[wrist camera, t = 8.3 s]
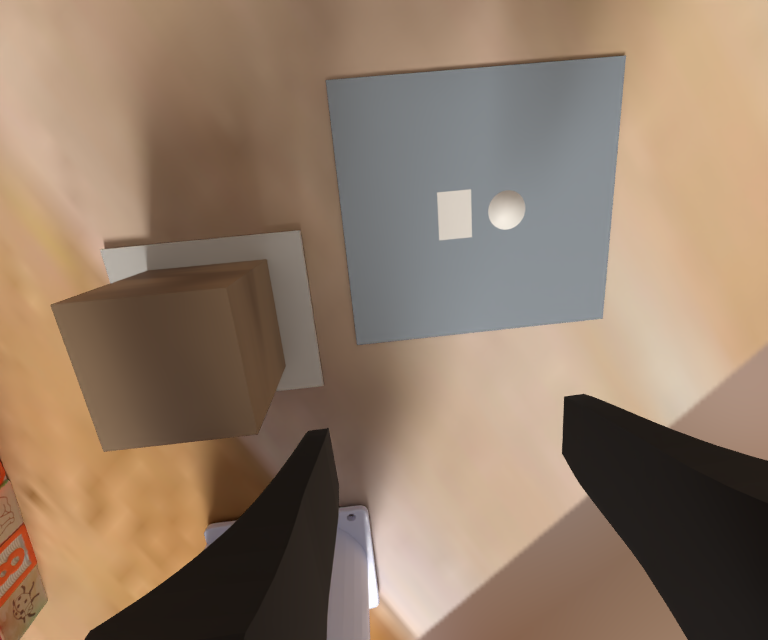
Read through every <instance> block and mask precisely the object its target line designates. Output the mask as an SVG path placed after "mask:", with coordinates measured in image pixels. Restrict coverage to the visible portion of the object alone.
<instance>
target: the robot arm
mask: <svg viewBox="0 0 768 640" xmlns="http://www.w3.org/2000/svg"><path fill="white" fill-rule="evenodd" d="M562 454H563V456H564V458H565V459H566V461H567V463H568V465H569V467H570V468H571V470H572V472H573V474H574V475H575V477H576V479H577V480H578V482H579V483H580V485H581V486H582V488H583V489H584V490H585V492H586V493H587V494H588V496H589V497H590V498H591V499H592V501H593V502H594V503H595V505H596V506H597V507H598V509H599V510H600V511H601V513H602V514H603V515H604V516H605V518H606V519H607V520H608V522H609V523H610V524H611V525H612V527H613V528H614V529H615V531H616V532H617V533H618V535H619V536H620V537H621V538H622V540H623V541H624V542H625V544H626V545H627V546H628V547H629V549H630V550H631V551H632V553H633V554H634V556H635V557H636V558H637V560H638V561H639V563H640V564H641V565H642V567H643V568H644V570H645V571H646V573H647V574H648V576H649V577H650V579H651V581H652V582H653V584H654V585H655V587H656V589H657V590H658V592H659V593H660V595H661V596H662V598H663V600H664V601H665V603H666V604H667V606H668V607H669V609H670V611H671V612H672V614H673V616H674V617H675V619H676V621H677V622H678V624H679V626H680V627H681V629H682V631H683V632H684V634H685V636H686V637H687V639H688V640H768V461H767V460H763V459H759V458H756V457H752V456H749V455H745V454H742V453H739V452H736V451H733V450H729V449H726V448H723V447H720V446H716V445H713V444H711V443H708V442H705V441H702V440H699V439H697V438H694V437H691V436H688V435H686V434H683V433H680V432H678V431H675V430H672V429H670V428H667V427H665V426H662V425H660V424H657V423H655V422H652V421H650V420H648V419H645V418H643V417H640V416H638V415H636V414H633V413H631V412H628V411H626V410H624V409H621V408H619V407H617V406H614V405H612V404H610V403H607V402H605V401H602V400H600V399H597V398H594V397H592V396H589V395H585V394H580V395H573V396H565V397H564V416H563V443H562ZM350 514H354V515H353V516H349V515H350ZM204 536H205V539H206V542H207V545H206V547H205V549H204V550H203V551H202V552H201V553H200V554H199V555H198V556H197V557H195V558H194V559H193V560H192V561H190V562H189V563H188V564H187V565H185V566H184V567H183V568H182V569H180V570H179V571H178V572H176V573H175V574H174V575H172V576H171V577H170V578H168V579H167V580H166V581H164V582H163V583H162V584H160V585H159V586H157V587H156V588H155V589H153V590H152V591H150V592H149V593H148V594H146V595H145V596H143V597H142V598H140V599H139V600H137V601H136V602H134V603H133V604H131V605H130V606H128V607H127V608H125V609H124V610H122V611H121V612H119V613H118V614H116V615H114V616H113V617H111V618H110V619H108V620H107V621H105V622H104V623H102V624H101V625H99V626H97V627H96V628H94V629H93V630H91V631H90V632H89V633H88V635H87V636H86V638H85V639H84V640H370V622H369V609H371V608H375V607H377V606H378V604H379V593H378V585H377V577H376V569H375V561H374V553H373V545H372V537H371V530H370V522H369V514H368V509H367V508H366V507H365V506H362V505H357V506H349V507H341V508H339V484H338V478H337V472H336V467H335V461H334V456H333V450H332V445H331V439H330V433H329V428H327V429H320V430H312V431H308V432H307V433H306V434H305V436H304V437H303V439H302V440H301V442H300V443H299V445H298V446H297V447H296V449H295V450H294V452H293V453H292V455H291V456H290V457H289V459H288V460H287V462H286V463H285V464H284V466H283V467H282V468H281V470H280V471H279V472H278V474H277V475H276V476H275V478H274V479H273V480H272V481H271V483H270V484H269V485H268V486H267V487H266V489H265V490H264V491H263V492H262V493H261V495H260V496H259V497H258V498H257V499H256V501H255V502H254V503H253V504H252V505H251V506H250V507H249V508H248V509H247V510H246V512H245V513H244V514H243V515H242V516H241V517H240V518H239V519H238V520H236V521H228V522H220V523H213V524H210V525H208V526H207V528H206V530H205V532H204Z"/></svg>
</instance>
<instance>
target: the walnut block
mask: <svg viewBox="0 0 768 640" xmlns="http://www.w3.org/2000/svg"><path fill="white" fill-rule="evenodd" d="M51 308H52V311H53V313H54V316H55V319H56V322H57V324H58V327H59V330H60V333H61V335H62V338H63V341H64V344H65V346H66V349H67V352H68V355H69V357H70V360H71V363H72V366H73V369H74V371H75V374H76V377H77V380H78V382H79V385H80V388H81V391H82V393H83V396H84V399H85V402H86V404H87V407H88V410H89V413H90V415H91V418H92V421H93V424H94V426H95V429H96V432H97V435H98V437H99V440H100V443H101V446H102V449H103V451H104V452H106V451H115V450H123V449H132V448H141V447H150V446H159V445H168V444H177V443H186V442H195V441H204V440H212V439H221V438H230V437H239V436H248V435H257V434H258V433H259V430H260V428H261V425H262V423H263V420H264V418H265V416H266V413H267V411H268V408H269V406H270V403H271V401H272V399H273V396H274V394H275V391H276V389H277V387H278V384H279V382H280V379H281V377H282V374H283V372H284V370H285V367H286V364H285V358H284V353H283V347H282V342H281V336H280V330H279V325H278V319H277V314H276V308H275V302H274V297H273V291H272V285H271V280H270V274H269V269H268V263H267V259H263V260H252V261H242V262H231V263H221V264H210V265H200V266H189V267H179V268H168V269H158V270H147V271H144V272H142V273H139V274H136V275H133V276H130V277H127V278H125V279H122V280H119V281H116V282H113V283H111V284H108V285H105V286H102V287H99V288H96V289H94V290H91V291H88V292H85V293H82V294H80V295H77V296H74V297H71V298H68V299H65V300H63V301H60V302H57V303H54V304H51Z"/></svg>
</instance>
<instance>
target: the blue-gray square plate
mask: <svg viewBox="0 0 768 640" xmlns="http://www.w3.org/2000/svg"><path fill="white" fill-rule="evenodd" d="M625 60H626V56H615V57H603V58H591V59H578V60H566V61H554V62H542V63H530V64H517V65H505V66H493V67H481V68H468V69H456V70H444V71H432V72H420V73H407V74H395V75H383V76H371V77H359V78H346V79H334V80H326V87H327V95H328V104H329V112H330V120H331V129H332V137H333V146H334V154H335V163H336V171H337V180H338V188H339V196H340V205H341V213H342V222H343V230H344V239H345V247H346V256H347V264H348V272H349V281H350V289H351V298H352V306H353V315H354V323H355V332H356V340H357V345H363V344H372V343H381V342H391V341H400V340H409V339H418V338H427V337H437V336H446V335H455V334H464V333H474V332H483V331H492V330H501V329H511V328H520V327H529V326H538V325H548V324H557V323H566V322H575V321H585V320H594V319H603V308H604V297H605V286H606V274H607V263H608V252H609V240H610V229H611V218H612V206H613V195H614V184H615V173H616V161H617V150H618V139H619V127H620V116H621V105H622V94H623V82H624V71H625Z"/></svg>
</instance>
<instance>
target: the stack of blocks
mask: <svg viewBox="0 0 768 640" xmlns="http://www.w3.org/2000/svg"><path fill="white" fill-rule="evenodd" d="M36 564H37V560H36V557H35V554H34V551H33V548H32V545H31V542H30V539H29V536H28V533H27V530H26V527H25V525H24V523H23V518H22V515H21V511H20V508H19V505H18V502H17V499H16V496H15V493H14V491H13V488H12V484H11V482H10V481H9V480H8V479H7V478H6V475H5V470H4V468H3V466H2V463H1V461H0V640H20V638H21V637H22V636H23V634H24V633H25V632H26V630H27V629H28V628H29V626H30V625H31V623H32V622H33V621H34V619H35V618H36V616H37V615H38V614H39V612H40V611H41V609H42V608H43V607H44V605H45V604H46V603H47V601H48V598H47V595H46V592H45V589H44V586H43V583H42V580H41V577H40V574H39V571H38V568H37V565H36Z"/></svg>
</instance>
